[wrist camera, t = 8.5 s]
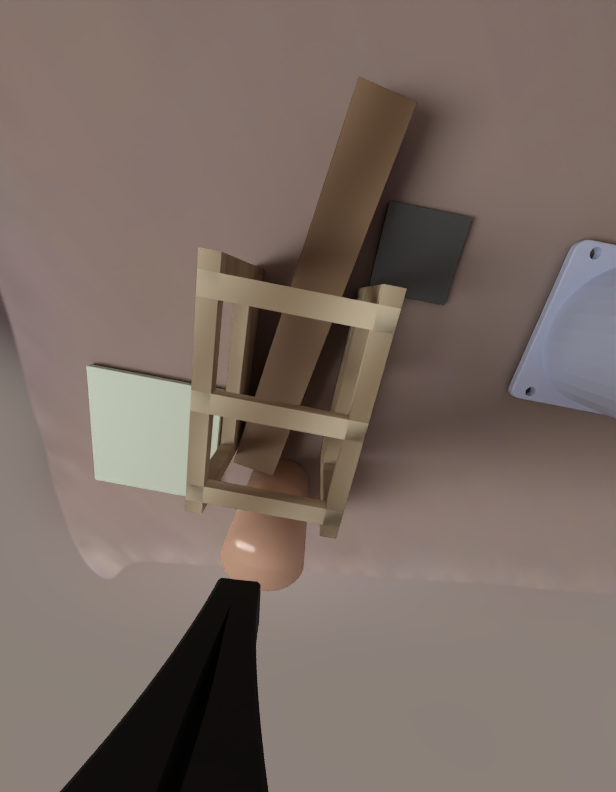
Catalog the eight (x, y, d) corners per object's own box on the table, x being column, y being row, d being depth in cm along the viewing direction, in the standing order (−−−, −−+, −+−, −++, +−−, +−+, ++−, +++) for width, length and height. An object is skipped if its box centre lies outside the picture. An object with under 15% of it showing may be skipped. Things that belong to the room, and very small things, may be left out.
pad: (224, 389, 17) (222, 391, 17) (214, 497, 20) (212, 500, 20) (91, 364, 17) (86, 365, 17) (99, 475, 20) (95, 479, 20)
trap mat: (469, 219, 14) (472, 217, 14) (441, 304, 15) (444, 304, 15) (388, 202, 14) (389, 200, 14) (367, 290, 15) (368, 290, 15)
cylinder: (310, 460, 19) (305, 531, 13) (308, 509, 20) (301, 594, 14) (249, 455, 19) (218, 524, 13) (250, 505, 20) (222, 587, 15)
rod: (401, 135, 13) (417, 102, 11) (278, 454, 19) (272, 475, 17) (352, 113, 13) (358, 76, 11) (244, 442, 19) (233, 462, 17)
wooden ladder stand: (371, 290, 15) (406, 288, 9) (331, 454, 19) (336, 538, 12) (250, 266, 15) (198, 247, 9) (232, 435, 18) (184, 511, 12)
